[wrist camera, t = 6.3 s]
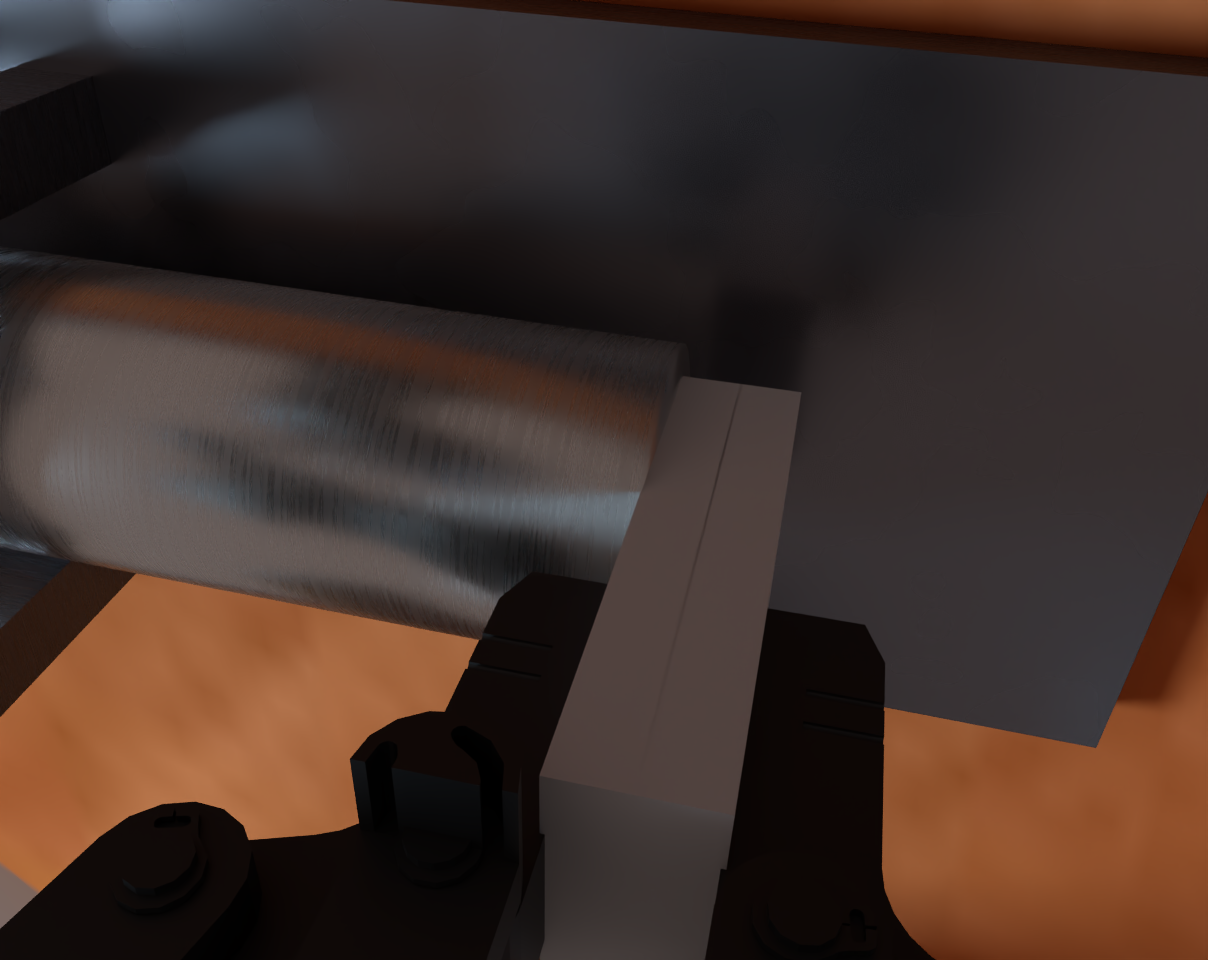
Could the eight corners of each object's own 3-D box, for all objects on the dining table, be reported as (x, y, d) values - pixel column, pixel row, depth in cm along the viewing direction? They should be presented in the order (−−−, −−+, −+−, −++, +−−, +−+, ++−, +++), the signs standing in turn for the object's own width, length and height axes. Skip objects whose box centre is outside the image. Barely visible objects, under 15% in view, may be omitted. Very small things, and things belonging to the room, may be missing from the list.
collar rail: (-717, -118, 17) (-1753, -38, 10) (1349, 71, 12) (1890, 448, 5) (-408, 424, 23) (-953, 701, 16) (1087, 702, 18) (1197, 1267, 11)
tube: (703, 274, 14) (634, 449, 10) (676, 542, 16) (613, 757, 13) (-339, 137, 16) (-676, 240, 13) (-228, 386, 19) (-487, 528, 15)
